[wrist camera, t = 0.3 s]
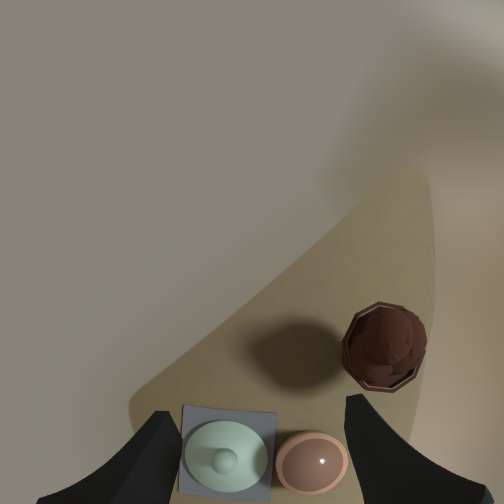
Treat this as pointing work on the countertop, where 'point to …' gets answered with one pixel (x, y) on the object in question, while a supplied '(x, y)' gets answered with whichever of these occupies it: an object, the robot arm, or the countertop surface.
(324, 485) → the dish
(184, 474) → the placemat
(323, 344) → the countertop surface
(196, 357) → the countertop surface
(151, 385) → the countertop surface
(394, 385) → the ice cream bowl
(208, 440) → the lid
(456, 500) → the robot arm
